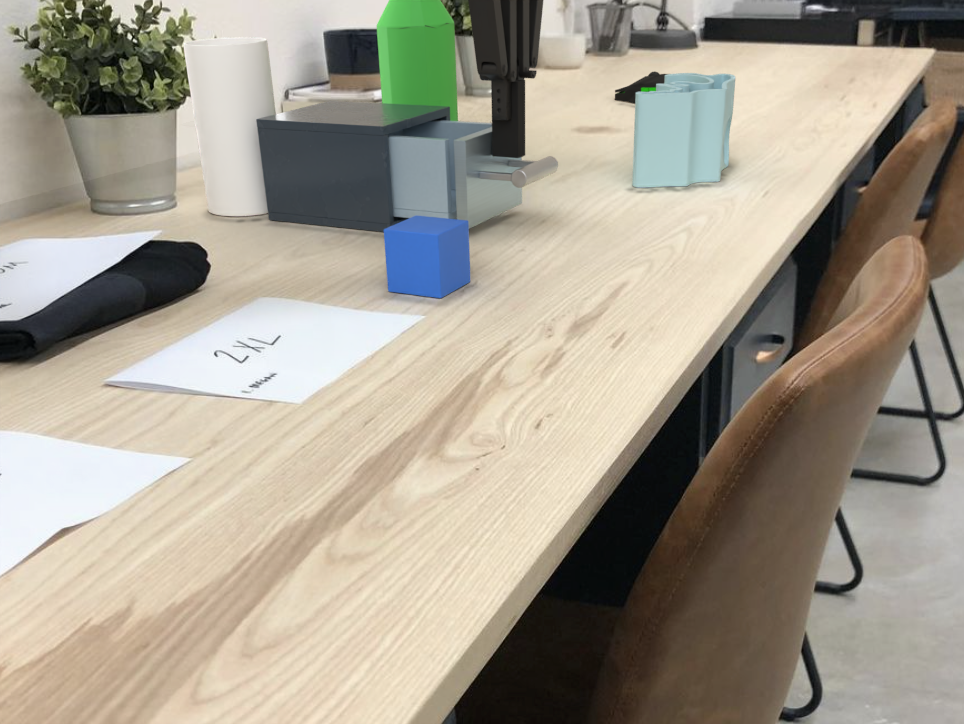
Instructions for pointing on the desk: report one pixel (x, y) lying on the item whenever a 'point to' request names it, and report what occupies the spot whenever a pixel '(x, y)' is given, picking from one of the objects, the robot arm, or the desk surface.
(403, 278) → the cube
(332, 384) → the desk surface
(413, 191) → the drawer
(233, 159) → the cup
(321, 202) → the dark gray drawer cabinet
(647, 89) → the black spring clamp
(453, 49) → the bottle
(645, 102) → the squiggly pen holder
